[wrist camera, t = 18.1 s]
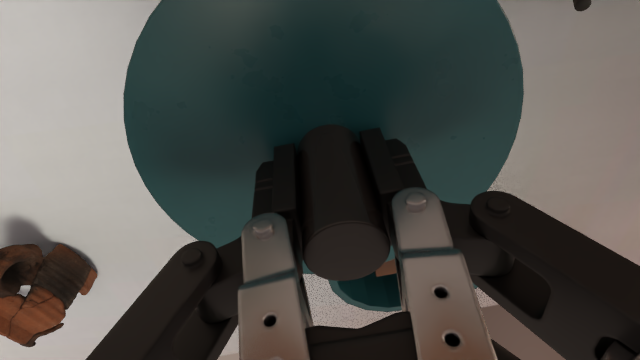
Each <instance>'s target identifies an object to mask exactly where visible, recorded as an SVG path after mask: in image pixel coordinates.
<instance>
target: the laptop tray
mask: <svg viewBox="0 0 640 360" xmlns="http://www.w3.org/2000/svg"><path fill="white" fill-rule="evenodd" d="M573 3H574V8H575V10H577V11H584V10H586V9H587V8H589V7H590V5H591V0H573Z"/></svg>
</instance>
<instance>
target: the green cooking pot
mask: <svg viewBox="0 0 640 360" xmlns="http://www.w3.org/2000/svg"><path fill="white" fill-rule="evenodd" d="M328 281H329V283H330V286H331V288H332V291H333V292H334V293H336V294H337V295H338V296H339V297H340V298H341V299H343V300H344V301H345V302H346V303H348V304H351V305H354V306H356V307H359V308H362V309H365V310H372V311H384V312H391V311H399V310H402V307H401V300H400V293H399V286H398V279H397V273H395V274H389V275H384V276H378V277H376V274H375V271H374V272H373V273H371V274H369V275H367V276H364V277H362V278H358V279H354V280H348V281H334V280H328ZM473 286H474V289H476V288H477V286H476V285H475V284H474V283H473Z"/></svg>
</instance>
